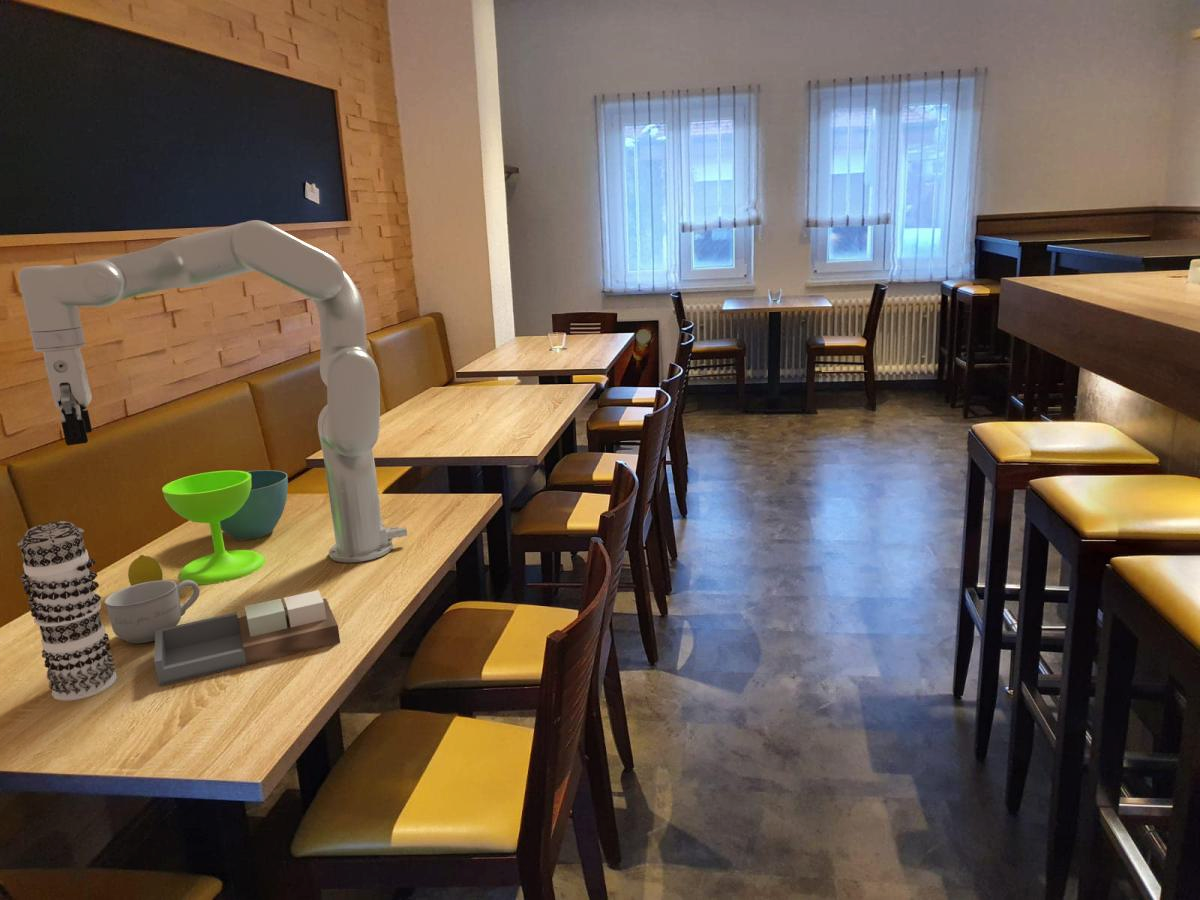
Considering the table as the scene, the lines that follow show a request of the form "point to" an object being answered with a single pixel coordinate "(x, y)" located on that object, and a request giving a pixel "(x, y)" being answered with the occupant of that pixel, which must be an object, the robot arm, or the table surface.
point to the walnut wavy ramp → (289, 638)
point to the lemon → (144, 570)
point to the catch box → (198, 649)
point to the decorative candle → (66, 610)
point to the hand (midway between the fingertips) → (79, 438)
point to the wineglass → (214, 522)
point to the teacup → (147, 608)
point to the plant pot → (259, 506)
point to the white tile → (305, 608)
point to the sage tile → (265, 617)
